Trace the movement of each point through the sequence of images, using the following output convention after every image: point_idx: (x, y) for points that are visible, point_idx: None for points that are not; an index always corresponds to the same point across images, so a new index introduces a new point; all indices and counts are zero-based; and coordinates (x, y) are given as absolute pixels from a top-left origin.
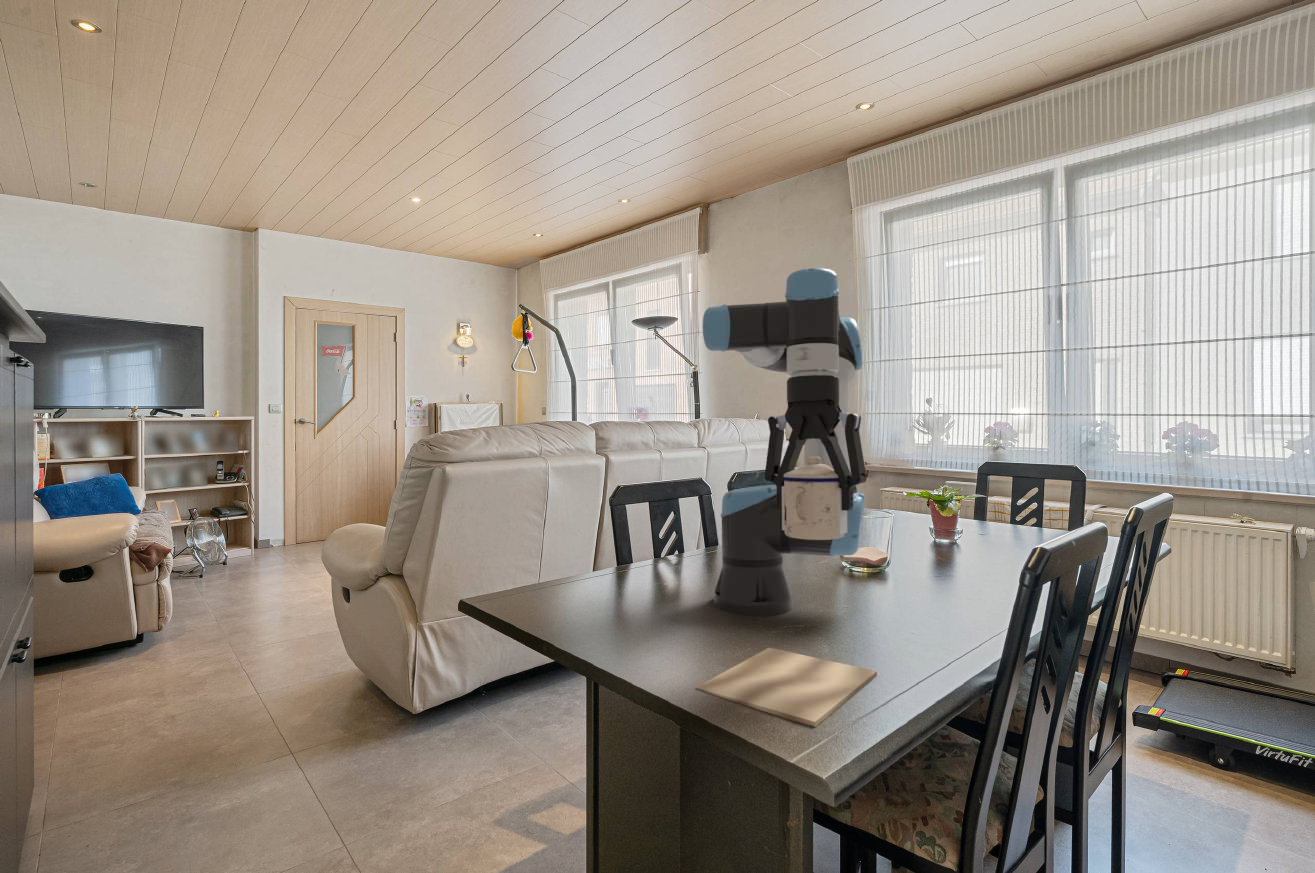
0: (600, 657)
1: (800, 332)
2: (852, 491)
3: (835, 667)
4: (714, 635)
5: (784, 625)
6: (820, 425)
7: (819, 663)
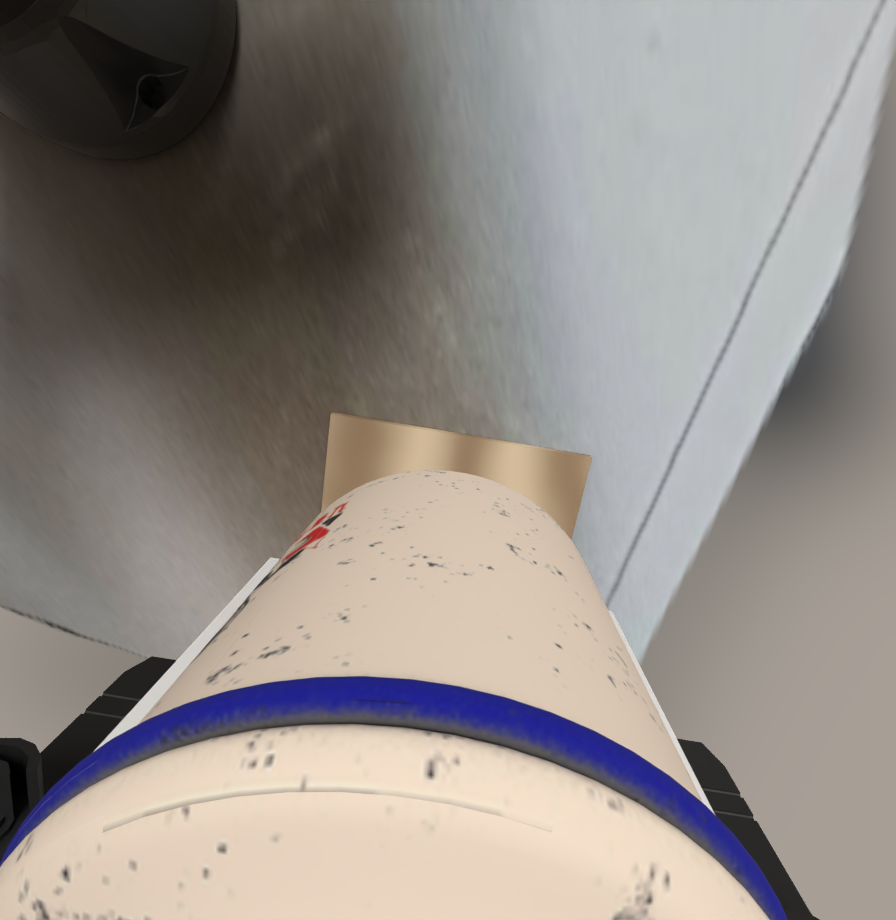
0: (56, 597)
1: None
2: (795, 907)
3: (505, 474)
4: (162, 356)
5: (279, 165)
6: None
7: (468, 465)
